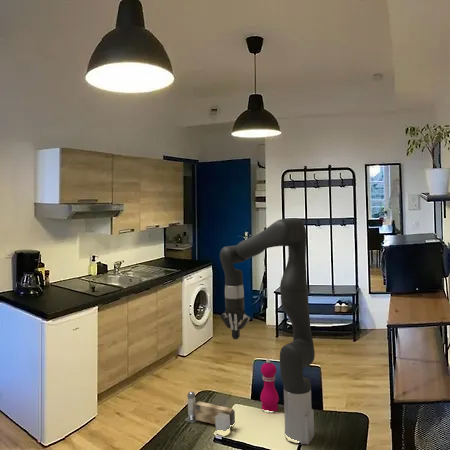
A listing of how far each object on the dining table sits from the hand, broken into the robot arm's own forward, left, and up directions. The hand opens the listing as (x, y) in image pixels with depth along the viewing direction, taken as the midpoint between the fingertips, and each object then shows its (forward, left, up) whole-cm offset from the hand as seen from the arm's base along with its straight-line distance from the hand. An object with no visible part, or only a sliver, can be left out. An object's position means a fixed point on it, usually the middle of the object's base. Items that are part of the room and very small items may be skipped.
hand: (235, 338), depth 174 cm
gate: (0, +18, -26) cm, 31 cm away
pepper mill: (-13, -2, -27) cm, 30 cm away
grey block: (-6, +21, -27) cm, 35 cm away
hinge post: (+10, +18, -27) cm, 34 cm away
